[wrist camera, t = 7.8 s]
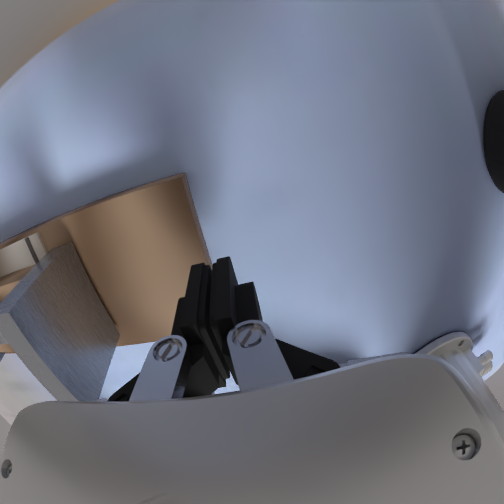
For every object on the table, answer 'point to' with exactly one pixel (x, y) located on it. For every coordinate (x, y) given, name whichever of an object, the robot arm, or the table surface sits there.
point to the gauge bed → (123, 254)
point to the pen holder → (495, 139)
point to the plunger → (60, 327)
